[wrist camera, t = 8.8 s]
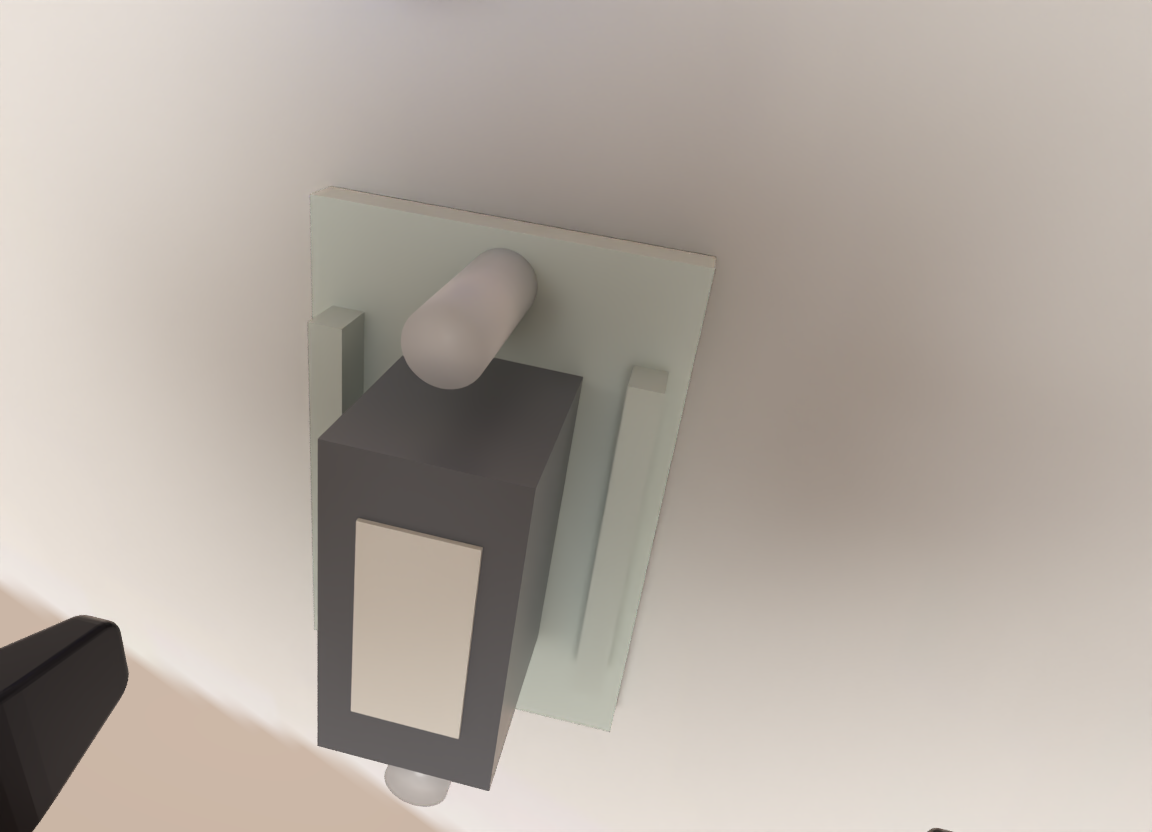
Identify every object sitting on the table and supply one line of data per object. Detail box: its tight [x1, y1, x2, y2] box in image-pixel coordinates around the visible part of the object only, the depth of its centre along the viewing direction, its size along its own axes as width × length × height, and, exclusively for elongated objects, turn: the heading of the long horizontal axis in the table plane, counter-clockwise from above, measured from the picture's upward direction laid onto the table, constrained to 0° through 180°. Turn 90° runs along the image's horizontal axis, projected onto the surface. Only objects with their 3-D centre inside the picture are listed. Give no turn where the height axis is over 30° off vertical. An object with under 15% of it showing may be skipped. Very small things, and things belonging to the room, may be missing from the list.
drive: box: [318, 355, 583, 791], centre depth 18 cm, size 4×8×5 cm, turn 171°
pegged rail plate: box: [308, 186, 716, 807], centre depth 19 cm, size 9×14×5 cm, turn 172°
